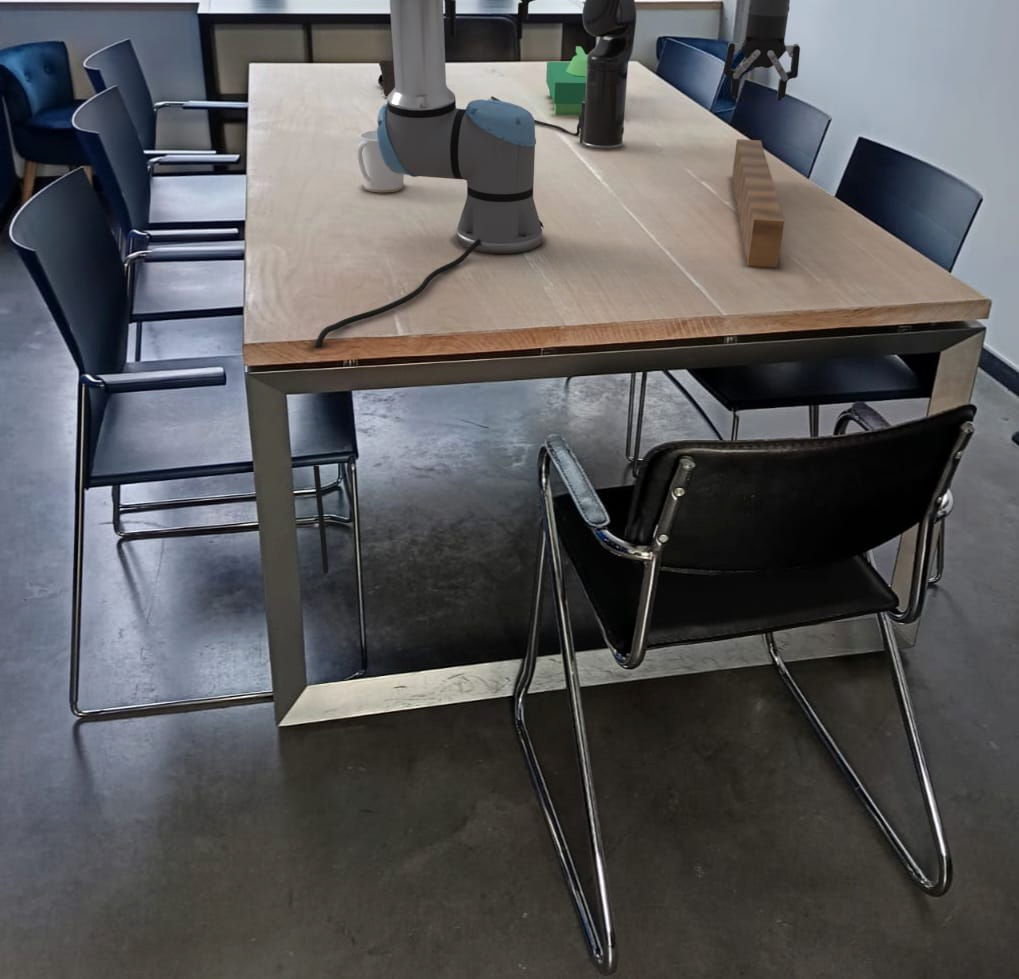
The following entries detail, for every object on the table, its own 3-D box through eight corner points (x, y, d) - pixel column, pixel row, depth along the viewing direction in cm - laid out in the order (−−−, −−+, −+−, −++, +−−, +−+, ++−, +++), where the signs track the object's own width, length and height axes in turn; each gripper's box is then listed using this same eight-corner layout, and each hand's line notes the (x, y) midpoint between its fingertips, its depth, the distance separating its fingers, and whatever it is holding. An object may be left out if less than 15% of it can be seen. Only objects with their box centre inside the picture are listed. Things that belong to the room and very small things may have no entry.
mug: (383, 178, 227) (381, 127, 222) (414, 186, 223) (413, 135, 217) (344, 189, 220) (341, 137, 215) (376, 198, 215) (373, 145, 210)
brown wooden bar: (777, 267, 187) (784, 221, 182) (747, 266, 187) (754, 219, 183) (755, 179, 233) (761, 140, 229) (731, 178, 233) (736, 139, 229)
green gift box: (609, 43, 301) (626, 67, 271) (606, 89, 307) (622, 119, 277) (545, 41, 300) (555, 66, 270) (543, 88, 306) (553, 117, 276)
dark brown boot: (443, 87, 294) (392, 77, 287) (436, 115, 299) (385, 106, 292) (421, 62, 307) (371, 52, 300) (414, 89, 311) (365, 80, 304)
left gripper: (553, -81, 213) (549, 36, 224) (426, -85, 215) (428, 31, 226) (550, -78, 206) (546, 42, 217) (420, -82, 208) (422, 37, 219)
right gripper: (804, 9, 212) (791, 96, 221) (730, 7, 214) (720, 93, 222) (808, 15, 206) (794, 104, 214) (731, 12, 207) (721, 101, 216)
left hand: (486, 37), depth 221 cm, fingers open, 13 cm apart
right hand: (756, 99), depth 218 cm, fingers open, 8 cm apart
